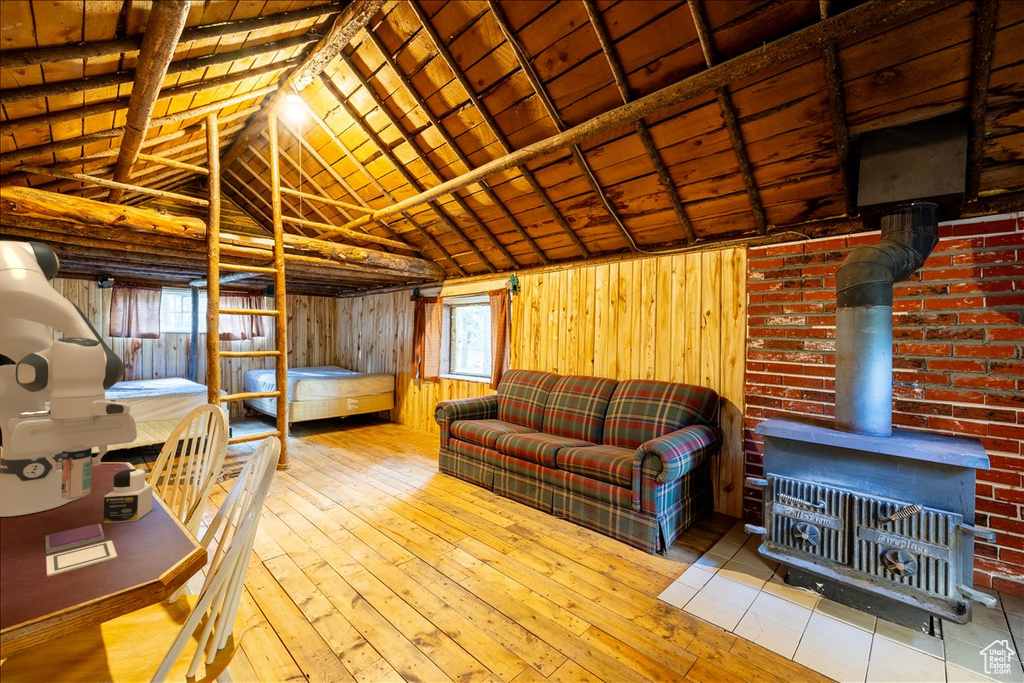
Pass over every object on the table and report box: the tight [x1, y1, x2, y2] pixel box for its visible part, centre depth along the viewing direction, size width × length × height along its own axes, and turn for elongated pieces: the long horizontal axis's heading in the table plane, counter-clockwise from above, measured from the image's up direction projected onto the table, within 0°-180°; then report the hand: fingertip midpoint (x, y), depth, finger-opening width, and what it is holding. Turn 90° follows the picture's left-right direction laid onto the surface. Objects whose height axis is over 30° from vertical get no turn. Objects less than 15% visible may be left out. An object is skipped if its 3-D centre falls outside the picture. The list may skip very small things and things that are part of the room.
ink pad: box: [45, 523, 105, 555], centre depth 96 cm, size 9×9×1 cm
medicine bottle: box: [103, 468, 154, 524], centre depth 109 cm, size 7×7×12 cm
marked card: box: [45, 540, 118, 578], centre depth 89 cm, size 10×10×1 cm
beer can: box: [61, 445, 93, 500], centre depth 96 cm, size 5×5×12 cm
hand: (77, 468), depth 96 cm, fingers closed on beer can, 5 cm apart
